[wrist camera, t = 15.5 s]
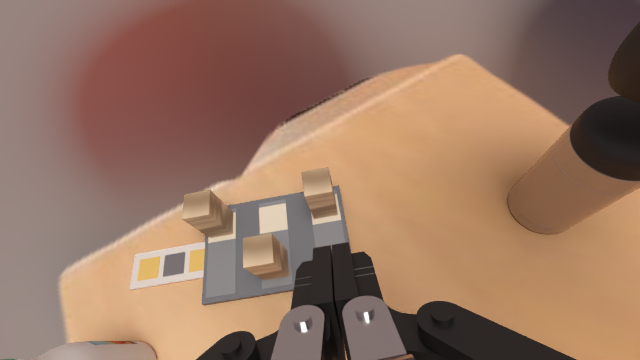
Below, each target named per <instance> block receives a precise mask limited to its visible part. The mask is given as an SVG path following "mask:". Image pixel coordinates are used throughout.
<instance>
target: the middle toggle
mask: <svg viewBox="0 0 640 360" xmlns="http://www.w3.org/2000/svg"><path fill="white" fill-rule="evenodd" d="M243 268H244V269H246V270H248V271H249V272H251V273H253V274H254V275H256V276H258V277H259V278H261V279H263V280H269V279H275V278H281V277H287V276H289V267H288V254H287V250H286V249H285V248H284V247H283V245H282V244H281V243H280V242H279V241H278V240H277V239H276V237H275V236H274V235H273V234H272V233H269V234H264V235H258V236H252V237H247V238H243Z"/></svg>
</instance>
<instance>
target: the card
mask: <svg viewBox="0 0 640 360" xmlns="http://www.w3.org/2000/svg"><path fill="white" fill-rule="evenodd" d="M204 256H205V242H202V243H196V244H190V245H184V246H179V247H173V248H167V249H162V250H156V251H150V252H145V253H139V254H135V259H134V265H133V271H132V277H131V283H130V290H135V289H141V288H147V287H153V286H159V285H164V284H170V283H176V282H182V281H188V280H194V279H200V278H203V275H204Z"/></svg>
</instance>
